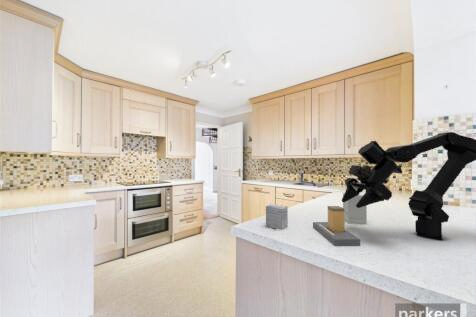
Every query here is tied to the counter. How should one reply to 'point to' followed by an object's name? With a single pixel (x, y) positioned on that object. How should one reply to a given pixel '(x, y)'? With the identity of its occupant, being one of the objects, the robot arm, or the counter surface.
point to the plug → (336, 218)
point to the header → (336, 235)
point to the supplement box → (354, 211)
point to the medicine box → (276, 216)
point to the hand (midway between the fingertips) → (349, 204)
